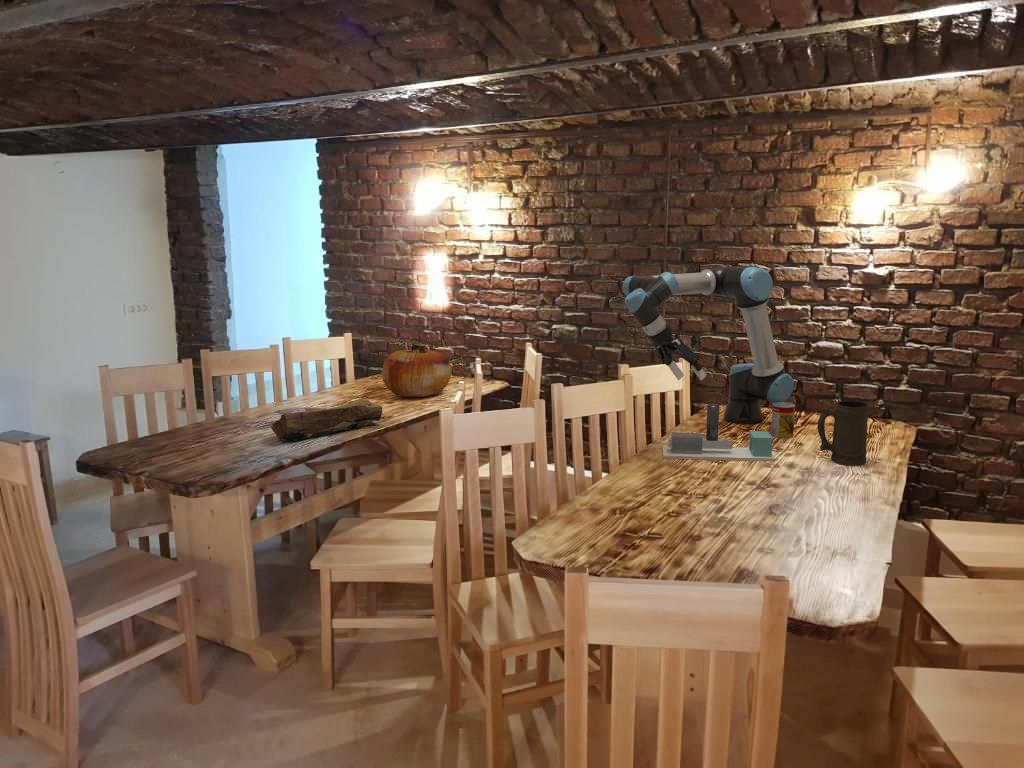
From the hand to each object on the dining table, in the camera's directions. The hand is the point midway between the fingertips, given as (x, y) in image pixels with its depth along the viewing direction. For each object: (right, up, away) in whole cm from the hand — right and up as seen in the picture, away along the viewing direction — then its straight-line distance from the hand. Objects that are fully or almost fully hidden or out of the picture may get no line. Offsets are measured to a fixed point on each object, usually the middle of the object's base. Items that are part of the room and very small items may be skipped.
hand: (692, 377), depth 255 cm
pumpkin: (-108, -8, +102) cm, 149 cm away
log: (-135, -22, +38) cm, 142 cm away
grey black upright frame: (+2, -24, -1) cm, 24 cm away
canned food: (+38, -22, +19) cm, 48 cm away
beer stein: (+46, -28, -11) cm, 55 cm away
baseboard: (+8, -26, -2) cm, 28 cm away
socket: (+22, -26, -4) cm, 34 cm away
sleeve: (-2, -25, 0) cm, 25 cm away
